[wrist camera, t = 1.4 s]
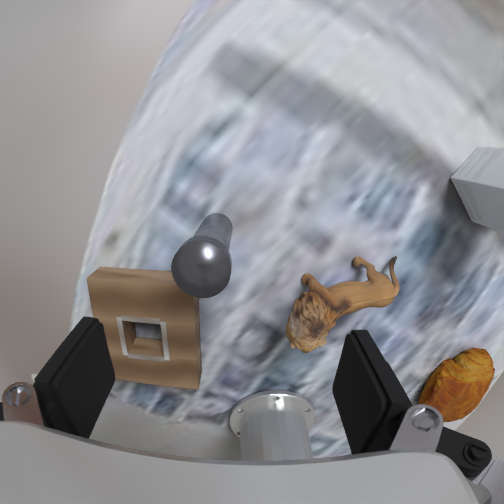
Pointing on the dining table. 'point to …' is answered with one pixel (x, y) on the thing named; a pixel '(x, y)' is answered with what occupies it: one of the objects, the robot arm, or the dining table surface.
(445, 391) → the croissant
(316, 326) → the lion figurine
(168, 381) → the block
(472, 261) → the dining table surface
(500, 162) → the supplement box
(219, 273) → the key peg
